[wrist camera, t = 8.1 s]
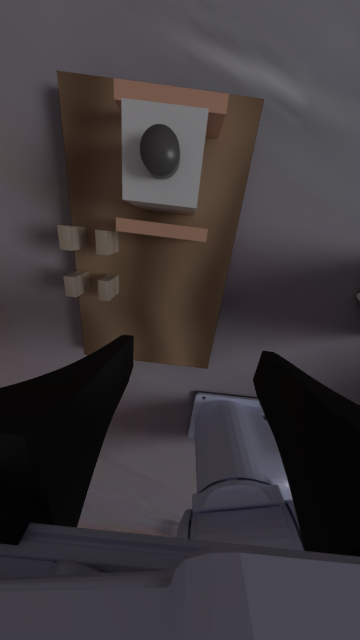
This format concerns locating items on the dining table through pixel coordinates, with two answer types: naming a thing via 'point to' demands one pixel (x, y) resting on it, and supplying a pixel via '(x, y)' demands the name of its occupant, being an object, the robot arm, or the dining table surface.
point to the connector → (162, 155)
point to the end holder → (214, 124)
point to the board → (147, 250)
